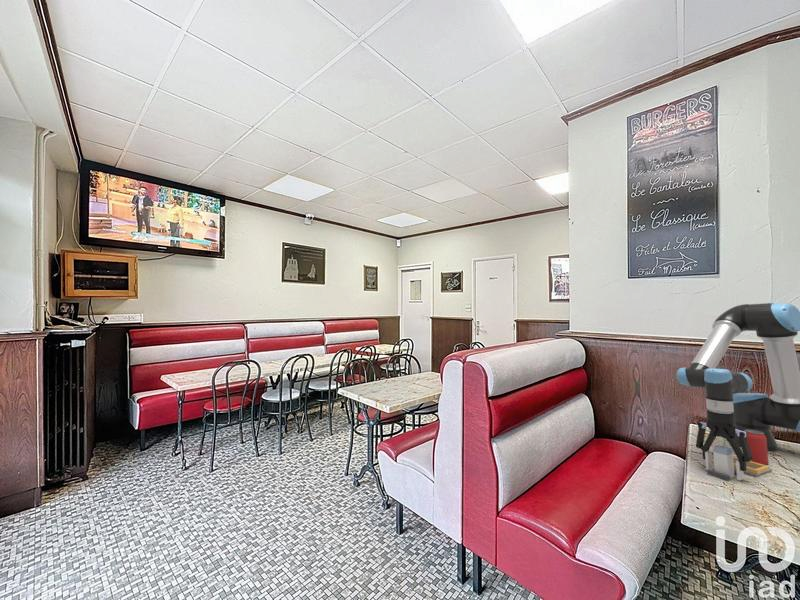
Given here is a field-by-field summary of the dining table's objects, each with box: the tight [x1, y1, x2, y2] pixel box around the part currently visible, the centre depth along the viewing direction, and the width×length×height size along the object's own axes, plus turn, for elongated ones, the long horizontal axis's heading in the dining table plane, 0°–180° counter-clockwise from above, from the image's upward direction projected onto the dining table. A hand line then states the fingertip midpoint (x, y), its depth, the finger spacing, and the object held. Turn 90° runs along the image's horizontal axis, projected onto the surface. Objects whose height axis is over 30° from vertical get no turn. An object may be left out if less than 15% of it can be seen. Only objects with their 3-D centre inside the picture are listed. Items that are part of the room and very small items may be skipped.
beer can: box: [744, 429, 769, 466], centre depth 137 cm, size 7×7×12 cm
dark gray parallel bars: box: [706, 469, 737, 482], centre depth 125 cm, size 10×6×2 cm, turn 113°
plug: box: [712, 444, 735, 479], centre depth 125 cm, size 4×4×10 cm
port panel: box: [733, 456, 772, 478], centre depth 131 cm, size 12×11×2 cm
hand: (724, 474), depth 125 cm, fingers open, 8 cm apart
